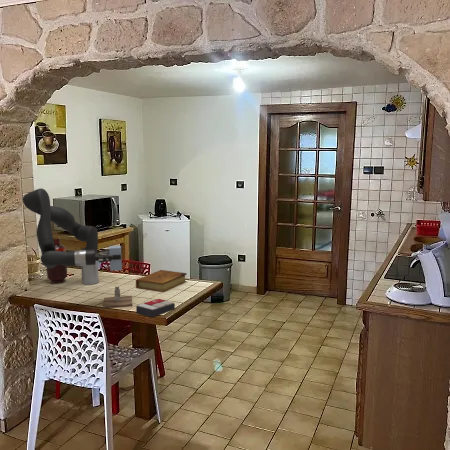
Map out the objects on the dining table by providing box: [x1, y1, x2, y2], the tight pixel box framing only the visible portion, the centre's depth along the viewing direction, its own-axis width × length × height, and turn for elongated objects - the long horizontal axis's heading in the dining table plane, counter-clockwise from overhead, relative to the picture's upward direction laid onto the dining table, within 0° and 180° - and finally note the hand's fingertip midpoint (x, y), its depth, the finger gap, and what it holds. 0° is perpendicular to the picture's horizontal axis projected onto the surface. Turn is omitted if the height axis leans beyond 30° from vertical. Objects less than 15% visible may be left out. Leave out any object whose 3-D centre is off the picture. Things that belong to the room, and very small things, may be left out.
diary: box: [135, 269, 188, 293], centre depth 262 cm, size 23×19×6 cm
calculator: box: [135, 298, 176, 318], centre depth 219 cm, size 11×4×15 cm
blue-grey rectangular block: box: [108, 245, 123, 271], centre depth 228 cm, size 5×5×11 cm
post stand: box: [102, 286, 133, 309], centre depth 231 cm, size 14×14×8 cm
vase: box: [46, 236, 68, 285], centre depth 269 cm, size 11×11×26 cm
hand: (120, 255), depth 228 cm, fingers closed on blue-grey rectangular block, 5 cm apart
